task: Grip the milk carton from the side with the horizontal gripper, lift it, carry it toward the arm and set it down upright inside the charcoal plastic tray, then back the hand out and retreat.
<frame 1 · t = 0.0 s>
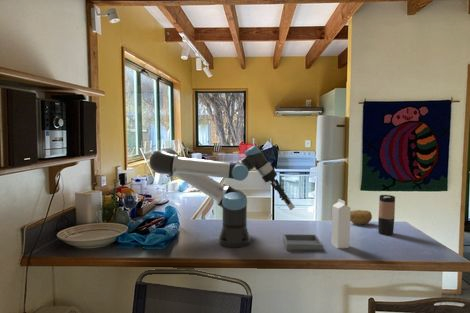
hand: (290, 205, 167), 15 cm above the countertop, tool tilted 35°, fingers open, 13 cm apart
travel mug: (385, 233, 171), on the countertop
potato: (359, 224, 188), on the countertop
tray: (301, 245, 152), on the countertop
milk: (340, 246, 152), on the countertop
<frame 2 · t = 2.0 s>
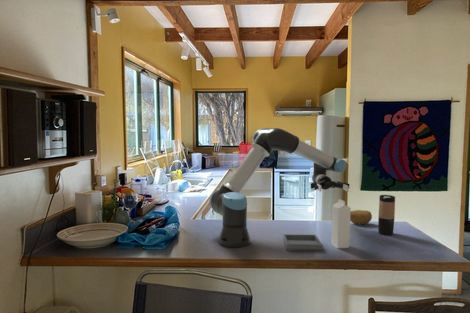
hand: (334, 188, 162), 25 cm above the countertop, tool horizontal, fingers open, 13 cm apart
nothing on the countertop moved.
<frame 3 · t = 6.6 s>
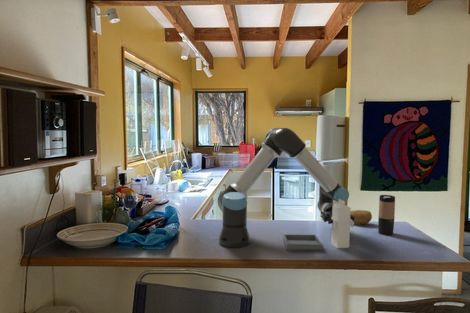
hand: (344, 224, 146), 12 cm above the countertop, tool horizontal, fingers closed on milk, 7 cm apart
milk: (340, 246, 152), on the countertop, touching gripper
everything else where it was.
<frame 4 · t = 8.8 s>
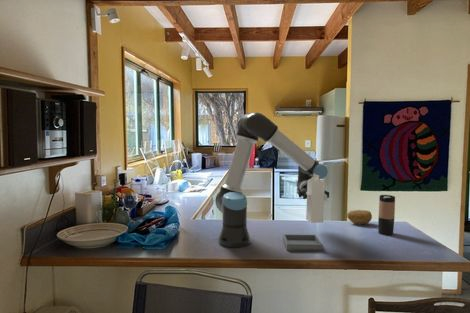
hand: (317, 198, 145), 24 cm above the countertop, tool horizontal, fingers closed on milk, 7 cm apart
milk: (314, 221, 151), point 12 cm above the countertop, touching gripper
everything else where it was.
when the fingers open (14 cm above the countertop, at t = 11.4 s): milk drops 2 cm, resting on tray.
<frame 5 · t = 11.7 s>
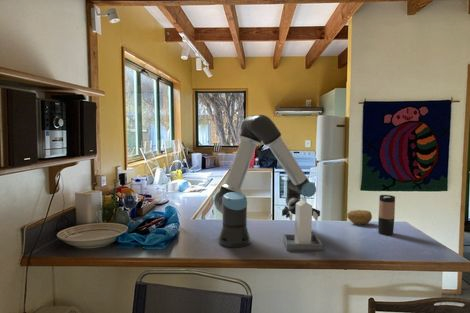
hand: (304, 217, 147), 14 cm above the countertop, tool horizontal, fingers open, 11 cm apart
milk: (302, 244, 152), point 1 cm above the countertop, touching tray
everything else where it was.
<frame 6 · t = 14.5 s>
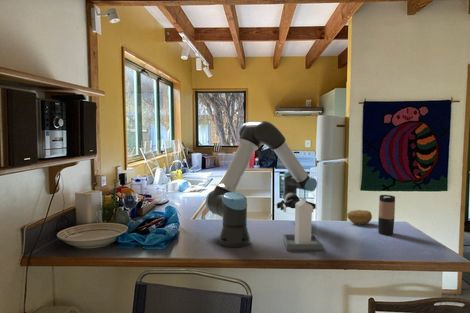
hand: (298, 209, 161), 15 cm above the countertop, tool horizontal, fingers open, 13 cm apart
nothing on the countertop moved.
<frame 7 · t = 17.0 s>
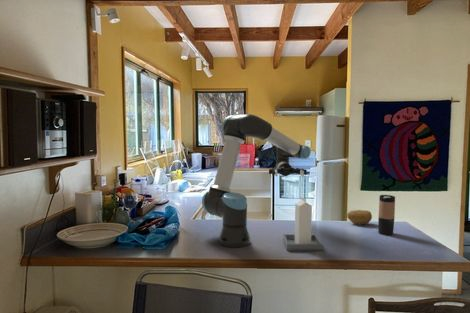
hand: (289, 173, 165), 32 cm above the countertop, tool horizontal, fingers open, 13 cm apart
nothing on the countertop moved.
at the end: milk inside the target area on the tray (0.3 cm from its centre), point 0.6 cm above the tray's base; milk tilted 0°; the gripper is holding nothing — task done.
